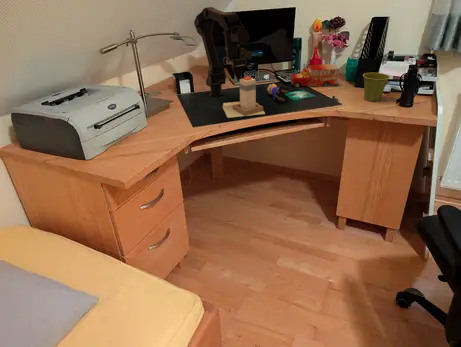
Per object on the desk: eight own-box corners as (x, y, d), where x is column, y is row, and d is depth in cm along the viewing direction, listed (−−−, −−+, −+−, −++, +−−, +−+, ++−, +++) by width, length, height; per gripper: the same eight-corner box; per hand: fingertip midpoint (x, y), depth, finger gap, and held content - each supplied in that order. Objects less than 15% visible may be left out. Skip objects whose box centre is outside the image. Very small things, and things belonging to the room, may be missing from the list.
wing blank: (223, 106, 165) (223, 103, 164) (239, 104, 166) (239, 101, 165) (224, 108, 162) (224, 105, 162) (241, 106, 163) (241, 103, 163)
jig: (222, 108, 166) (221, 102, 164) (257, 105, 168) (257, 98, 166) (227, 120, 153) (227, 113, 151) (265, 116, 155) (265, 109, 154)
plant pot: (384, 104, 162) (388, 80, 156) (357, 101, 167) (360, 77, 161) (387, 96, 171) (391, 73, 165) (361, 94, 176) (365, 71, 170)
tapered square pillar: (240, 109, 160) (239, 76, 153) (249, 107, 162) (248, 74, 155) (246, 112, 156) (245, 79, 149) (255, 110, 159) (255, 77, 151)
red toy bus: (289, 83, 198) (290, 65, 193) (333, 81, 197) (335, 63, 192) (292, 88, 189) (293, 70, 184) (338, 87, 188) (340, 68, 183)
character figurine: (276, 105, 168) (266, 96, 181) (290, 102, 169) (279, 93, 182) (275, 89, 164) (265, 81, 177) (290, 86, 165) (279, 78, 178)
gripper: (256, 42, 148) (259, 79, 154) (242, 41, 165) (246, 75, 171) (231, 45, 145) (235, 83, 151) (220, 45, 162) (224, 79, 168)
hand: (236, 80), depth 160 cm, fingers open, 9 cm apart
